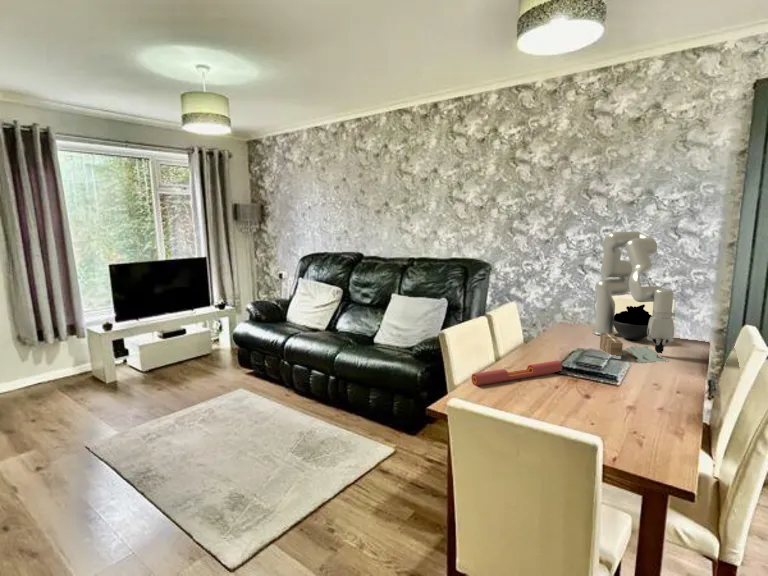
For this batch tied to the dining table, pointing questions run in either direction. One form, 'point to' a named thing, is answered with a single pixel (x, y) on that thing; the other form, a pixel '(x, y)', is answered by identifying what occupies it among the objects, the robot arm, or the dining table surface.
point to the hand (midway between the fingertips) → (659, 352)
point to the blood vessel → (515, 373)
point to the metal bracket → (645, 354)
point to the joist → (611, 344)
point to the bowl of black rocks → (632, 322)
